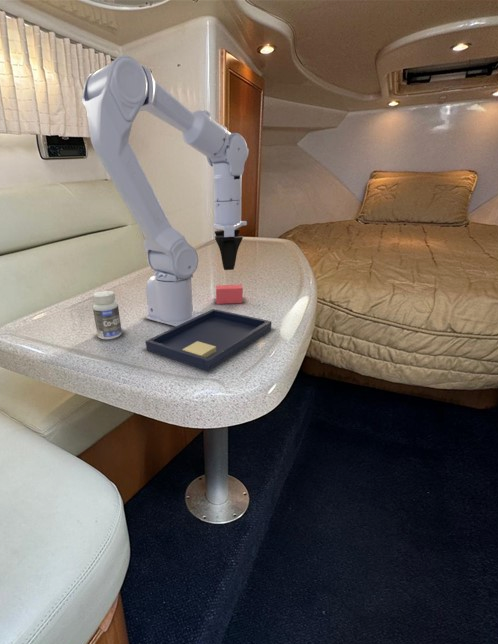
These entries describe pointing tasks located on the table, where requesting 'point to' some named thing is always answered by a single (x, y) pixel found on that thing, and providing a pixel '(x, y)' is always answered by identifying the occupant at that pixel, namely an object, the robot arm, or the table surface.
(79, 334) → the table surface
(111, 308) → the pill bottle
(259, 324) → the tray
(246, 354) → the table surface
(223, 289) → the eraser
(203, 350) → the beige square tile
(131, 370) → the table surface
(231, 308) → the table surface
